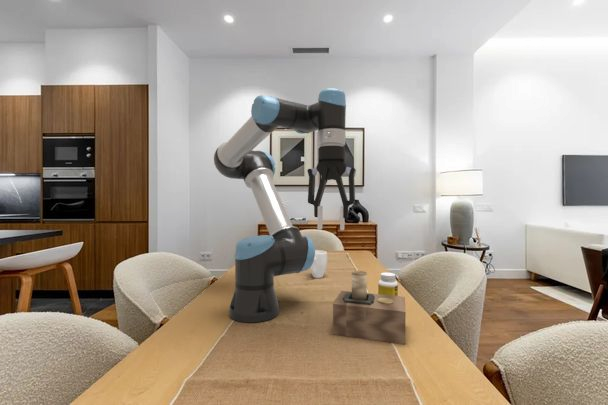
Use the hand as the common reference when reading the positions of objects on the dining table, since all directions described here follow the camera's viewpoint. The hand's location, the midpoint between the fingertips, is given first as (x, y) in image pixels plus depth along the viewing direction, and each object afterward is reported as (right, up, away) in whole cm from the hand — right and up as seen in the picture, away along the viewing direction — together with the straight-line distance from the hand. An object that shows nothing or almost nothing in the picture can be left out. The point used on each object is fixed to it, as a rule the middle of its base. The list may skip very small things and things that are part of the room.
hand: (331, 229), depth 87 cm
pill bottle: (+20, -27, +14) cm, 36 cm away
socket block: (+10, -27, -3) cm, 29 cm away
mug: (-2, -26, +51) cm, 58 cm away
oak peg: (+8, -20, -2) cm, 21 cm away
